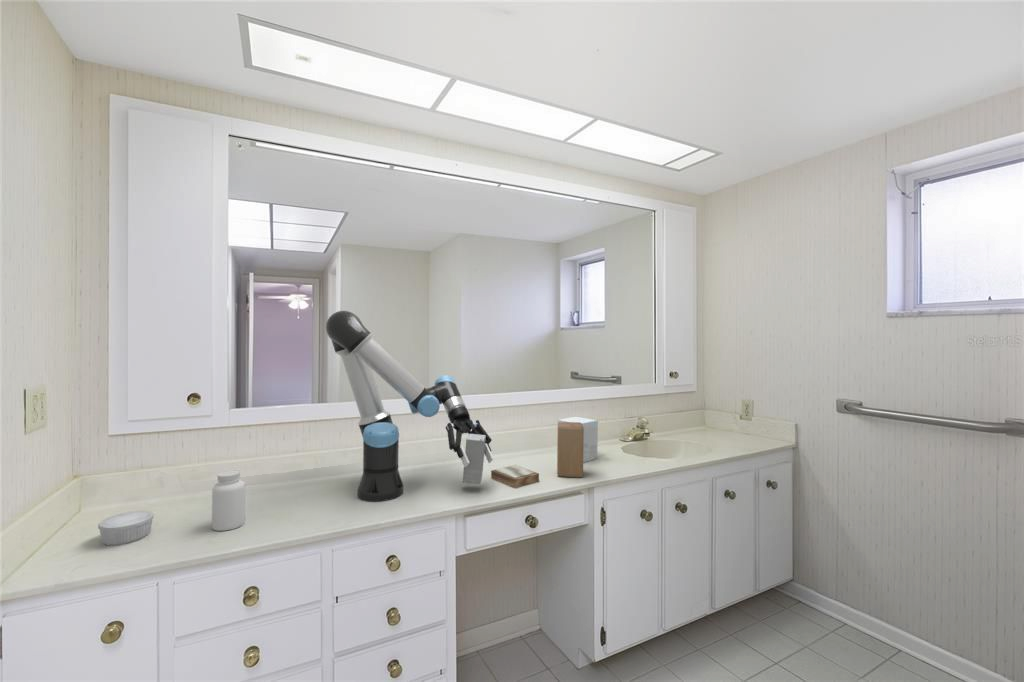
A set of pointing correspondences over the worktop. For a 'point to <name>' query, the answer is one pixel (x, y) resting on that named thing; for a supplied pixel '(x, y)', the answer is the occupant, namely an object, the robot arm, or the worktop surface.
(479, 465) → the skincare box
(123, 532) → the ramekin
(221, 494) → the pill bottle
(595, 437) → the supplement box
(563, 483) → the worktop surface
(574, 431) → the wooden block
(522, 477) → the wooden framed mirror
